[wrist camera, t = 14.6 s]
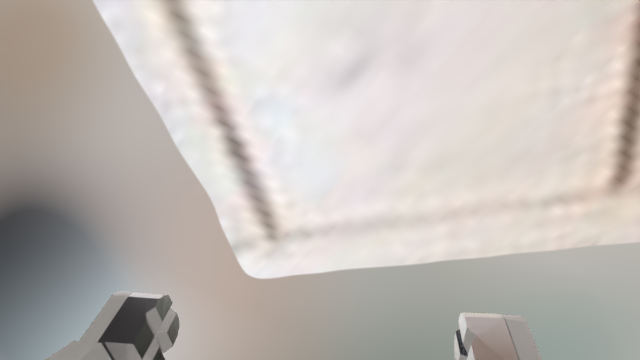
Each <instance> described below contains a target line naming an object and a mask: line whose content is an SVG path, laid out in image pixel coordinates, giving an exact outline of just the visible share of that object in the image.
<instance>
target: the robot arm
mask: <svg viewBox="0 0 640 360" xmlns="http://www.w3.org/2000/svg"><path fill="white" fill-rule="evenodd" d="M171 305H172V301H171V299H170V297H169V295H158V294H146V293H135V292H121V291H118V292H116V293H115V294H113V295H112V296H111V297H110V299H109V300H108V301H107V303H106V304H105V306H104V307H103V308H102V310H101V311H100V313H99V314H98V315H97V317H96V318H95V319H94V321H93V322H92V323H91V325H90V326H89V328H88V329H87V330H86V332H85V333H84V335H83V336H82V337H81V339H80V340H79V341H73V342H71V343H70V344H68V345H67V346H65V347H64V348H62V349H61V350H59V351H58V352H56V353H55V354H53V355H52V356H50V357H49V358H47V359H45V360H166V359H165V354H164V353H165V352H166V351H167V350H168V349H170V348H171V347H172V346H173V345H174V342H175V340H176V338H177V335H178V330H179V318H178V315H177V313H176V312H175V311H173V310H172V309H171V308H170V307H171ZM458 323H459V328H460V329H459V330H457V331H456V333H455V338H454V355H455V360H542V358H541V356H540V353H539V351H538V348H537V346H536V343H535V341H534V338H533V336H532V334H531V331H530V328H529V326H528V323H527V321H526V319H525V318H524V317H523V316H514V315H500V314H484V313H463V312H462V313H461V314H460V315H459V319H458Z"/></svg>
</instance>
